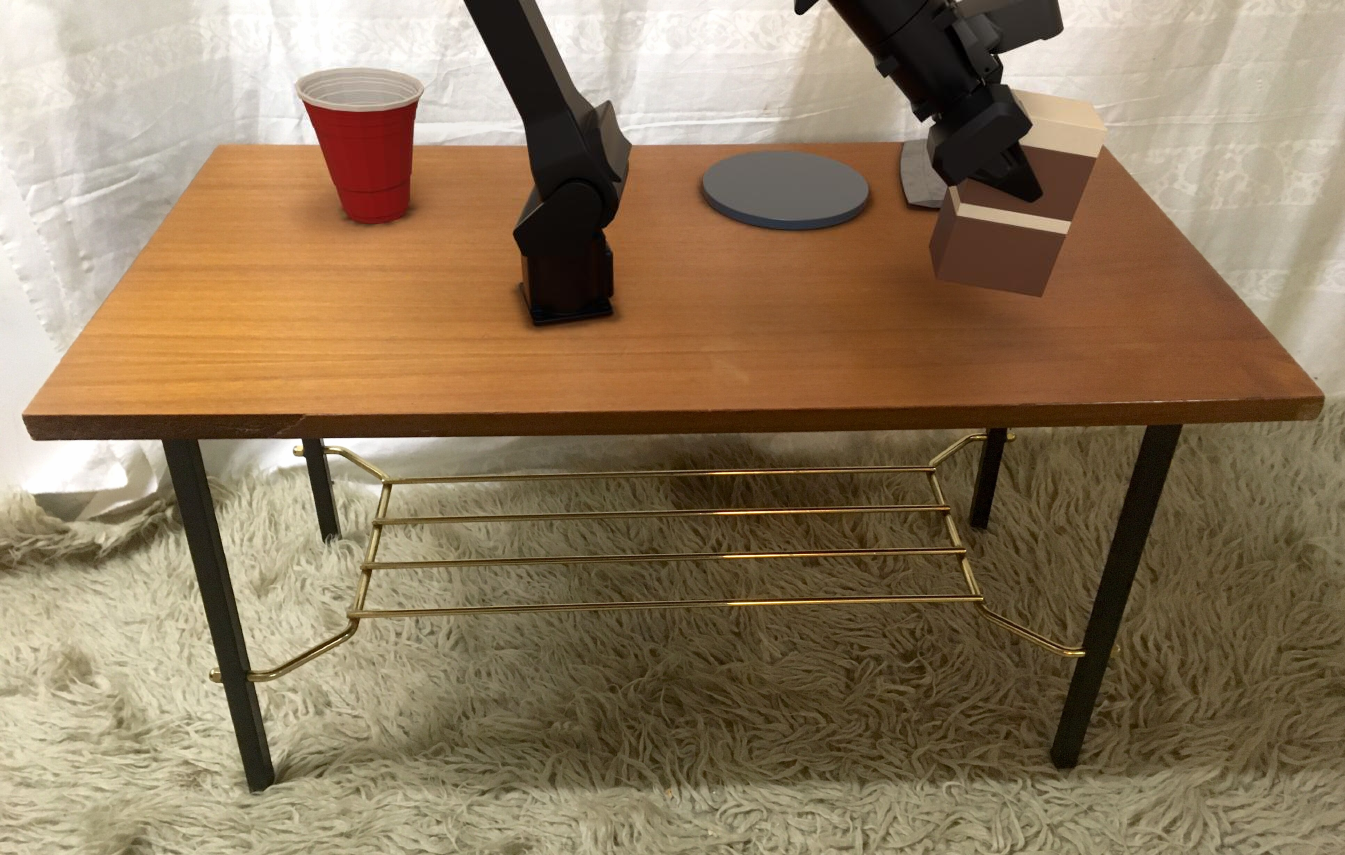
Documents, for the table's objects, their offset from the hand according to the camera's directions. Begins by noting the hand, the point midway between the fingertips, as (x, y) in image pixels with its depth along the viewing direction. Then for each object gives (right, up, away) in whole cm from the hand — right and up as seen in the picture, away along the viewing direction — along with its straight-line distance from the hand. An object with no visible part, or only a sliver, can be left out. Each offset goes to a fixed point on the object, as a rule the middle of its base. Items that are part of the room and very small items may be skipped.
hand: (1029, 180), depth 76 cm
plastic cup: (-53, +2, +22) cm, 57 cm away
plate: (-15, +5, +27) cm, 31 cm away
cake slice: (-2, -6, +5) cm, 8 cm away
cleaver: (+2, +3, +25) cm, 26 cm away
